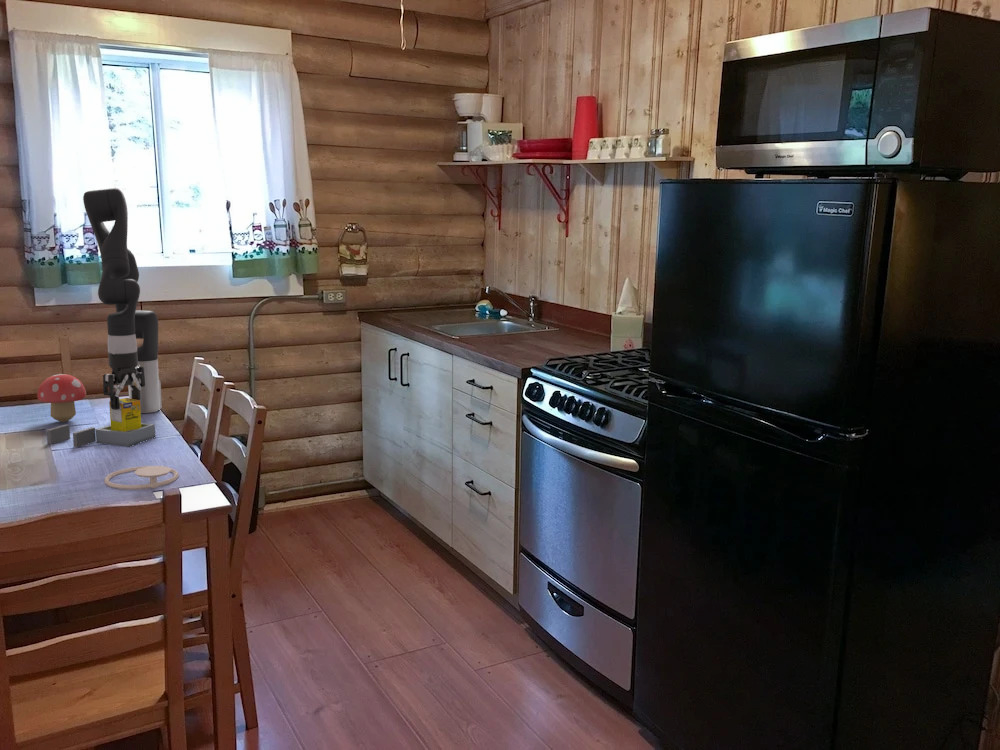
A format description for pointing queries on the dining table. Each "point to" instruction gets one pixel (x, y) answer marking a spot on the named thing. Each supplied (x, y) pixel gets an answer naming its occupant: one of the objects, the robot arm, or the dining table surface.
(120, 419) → the supplement box
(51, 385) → the decorative mushroom
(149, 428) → the tray
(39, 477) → the dining table surface
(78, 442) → the grey blocks
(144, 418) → the dining table surface
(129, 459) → the dining table surface
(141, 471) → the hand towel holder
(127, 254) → the robot arm
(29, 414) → the dining table surface
